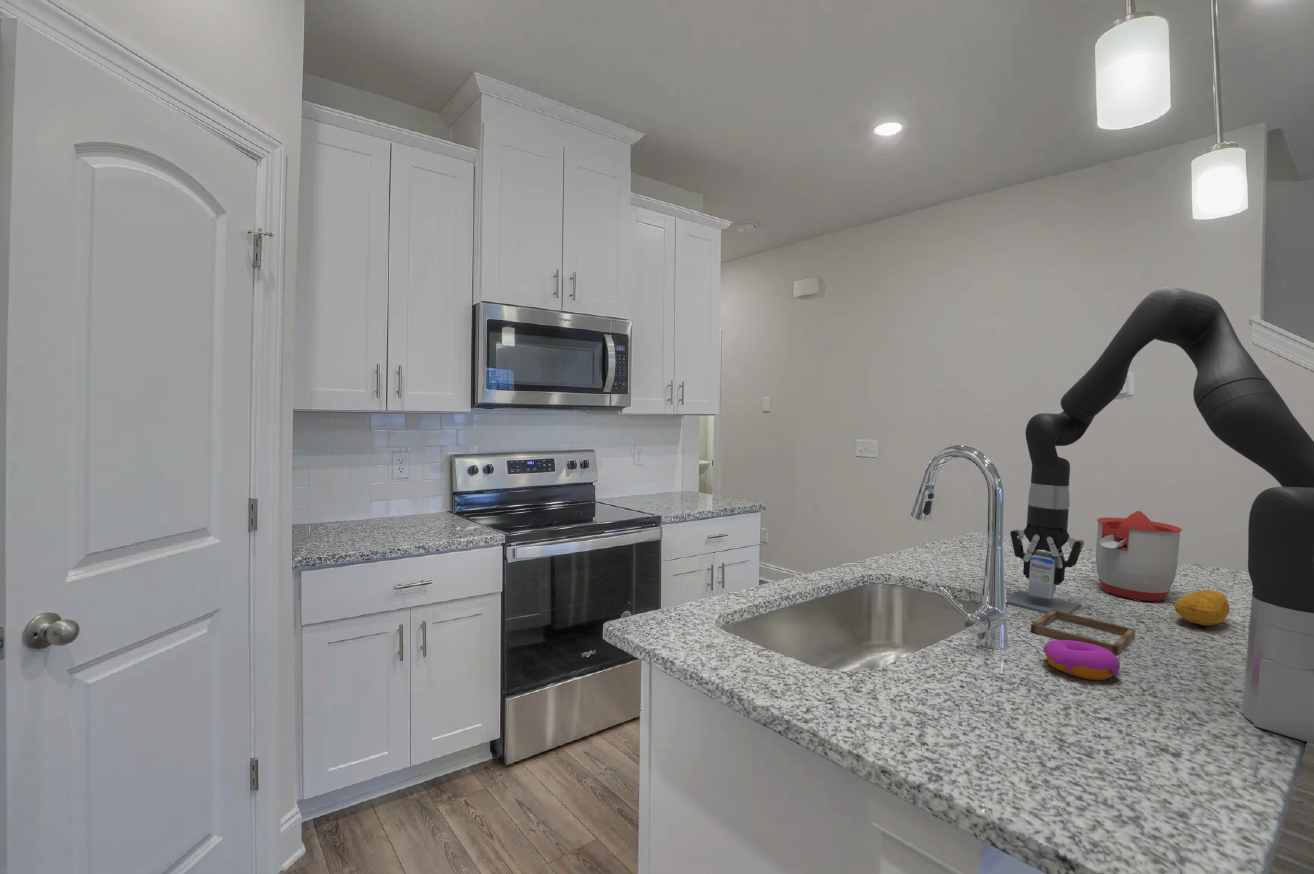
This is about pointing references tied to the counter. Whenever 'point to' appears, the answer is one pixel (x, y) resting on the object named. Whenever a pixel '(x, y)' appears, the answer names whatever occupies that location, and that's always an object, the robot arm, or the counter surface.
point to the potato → (1203, 607)
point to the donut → (1082, 659)
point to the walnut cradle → (1061, 635)
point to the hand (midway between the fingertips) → (1043, 580)
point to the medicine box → (1042, 575)
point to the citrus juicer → (1137, 556)
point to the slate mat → (1041, 603)
